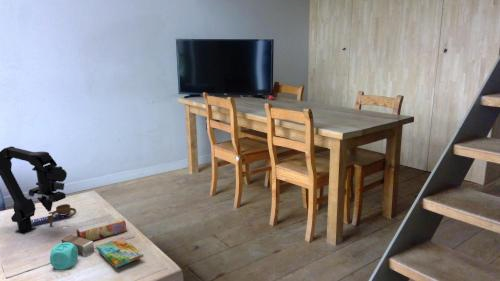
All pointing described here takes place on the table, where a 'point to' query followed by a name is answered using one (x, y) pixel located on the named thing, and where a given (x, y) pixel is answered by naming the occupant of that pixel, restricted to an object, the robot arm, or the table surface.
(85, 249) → the walnut block
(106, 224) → the snack package
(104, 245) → the puzzle game
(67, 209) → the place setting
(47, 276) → the table surface
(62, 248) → the decorative dice
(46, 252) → the table surface
